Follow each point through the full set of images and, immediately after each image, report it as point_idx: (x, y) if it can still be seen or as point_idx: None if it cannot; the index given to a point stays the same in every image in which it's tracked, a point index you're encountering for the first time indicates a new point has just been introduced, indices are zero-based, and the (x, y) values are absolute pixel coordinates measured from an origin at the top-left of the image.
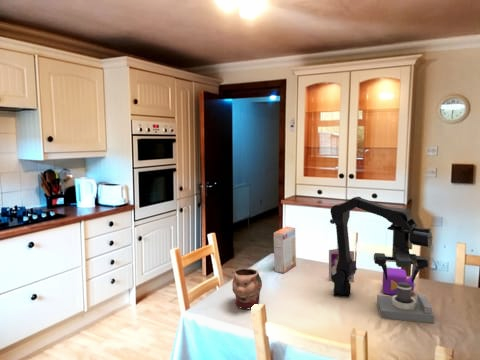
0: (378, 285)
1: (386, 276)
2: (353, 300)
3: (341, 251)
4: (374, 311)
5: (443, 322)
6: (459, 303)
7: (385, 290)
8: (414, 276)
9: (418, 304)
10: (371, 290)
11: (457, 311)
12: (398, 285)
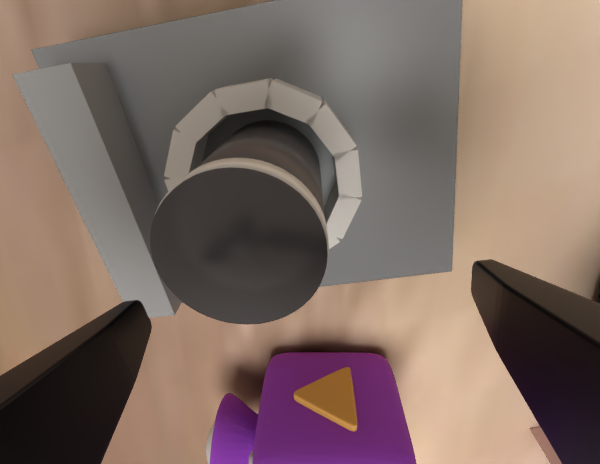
0: None
1: (536, 289)
2: (591, 217)
3: None
4: (471, 91)
5: None
6: (21, 354)
7: (379, 364)
8: (33, 367)
9: None
10: (446, 369)
11: (3, 269)
12: (310, 207)
